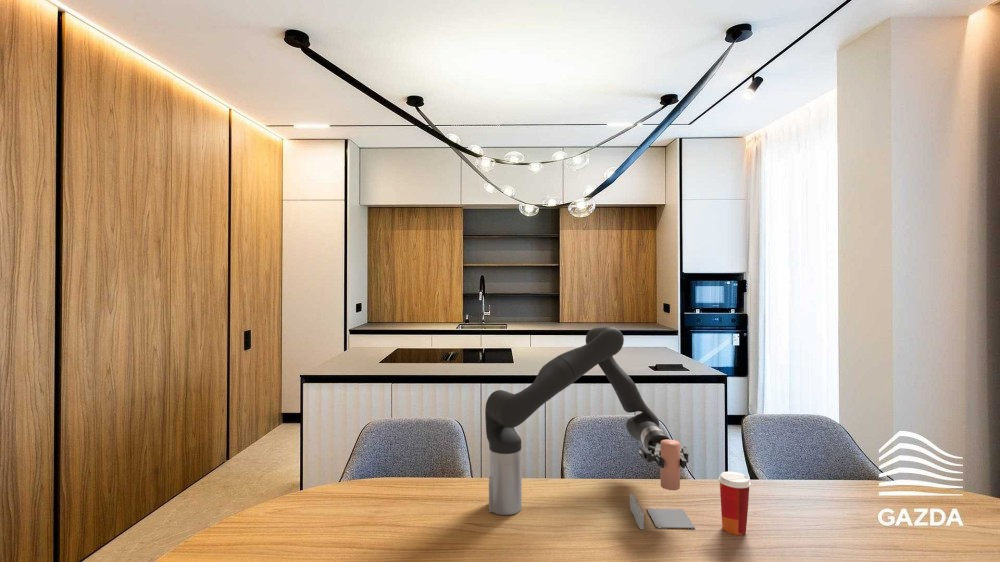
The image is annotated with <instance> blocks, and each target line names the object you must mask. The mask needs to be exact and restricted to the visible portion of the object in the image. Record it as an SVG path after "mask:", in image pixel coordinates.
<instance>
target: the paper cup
mask: <svg viewBox="0 0 1000 562" xmlns="http://www.w3.org/2000/svg"><path fill="white" fill-rule="evenodd" d="M717 481H718V482H719V491H720V494H719V495H720V511H721V514H720V515H721V527H722V529H723V531H724V532H726V533H727V532H728V534H730V535H733V534H734V535H733V536H744V535H745V534H746V532H747V525H748V523H747V522H748V512H749V511H748V510H749V501H750V500H749V499H750V497H749V496H750V487H751V485H752V484H751V481H750V479H749V478H748V477H747V476H746V475H745V474H744V473H740V472H736V471H723V472H721V473H720V475H719V477H718V479H717ZM743 534H744V535H743Z"/></svg>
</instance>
